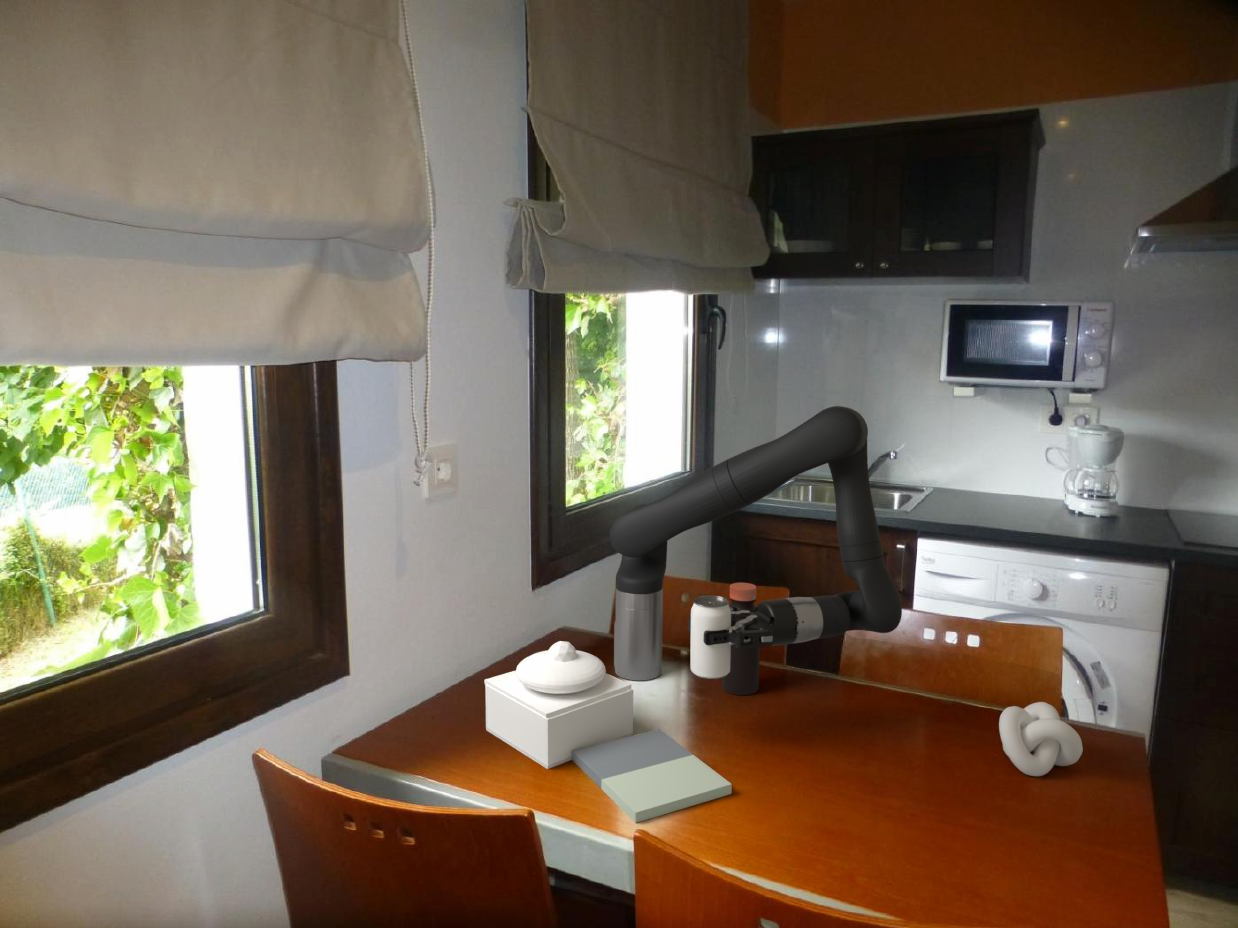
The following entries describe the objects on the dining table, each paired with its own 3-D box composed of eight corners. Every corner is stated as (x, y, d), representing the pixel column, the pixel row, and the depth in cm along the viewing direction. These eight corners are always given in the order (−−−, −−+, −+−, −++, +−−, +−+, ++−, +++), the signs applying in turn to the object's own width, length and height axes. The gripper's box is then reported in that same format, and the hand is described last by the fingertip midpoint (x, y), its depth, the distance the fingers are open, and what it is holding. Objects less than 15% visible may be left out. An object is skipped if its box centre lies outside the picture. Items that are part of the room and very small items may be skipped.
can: (729, 664, 141) (730, 595, 139) (730, 680, 135) (732, 608, 133) (690, 663, 142) (691, 594, 140) (690, 679, 135) (690, 607, 133)
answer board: (571, 759, 132) (571, 750, 132) (659, 737, 140) (659, 728, 140) (635, 822, 115) (635, 812, 115) (731, 793, 123) (731, 783, 122)
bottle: (732, 678, 165) (735, 579, 162) (764, 687, 161) (767, 585, 158) (715, 690, 159) (718, 587, 156) (748, 699, 155) (751, 593, 153)
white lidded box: (547, 770, 129) (547, 671, 127) (484, 729, 143) (482, 639, 141) (633, 736, 141) (634, 644, 139) (567, 701, 154) (566, 617, 152)
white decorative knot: (1038, 792, 124) (1043, 734, 122) (972, 756, 134) (976, 702, 133) (1090, 775, 128) (1095, 719, 127) (1022, 742, 139) (1026, 690, 138)
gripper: (768, 587, 148) (679, 596, 143) (812, 612, 134) (715, 623, 129) (767, 628, 149) (678, 638, 144) (810, 657, 136) (714, 670, 130)
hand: (696, 631), depth 136 cm, fingers closed on can, 6 cm apart
